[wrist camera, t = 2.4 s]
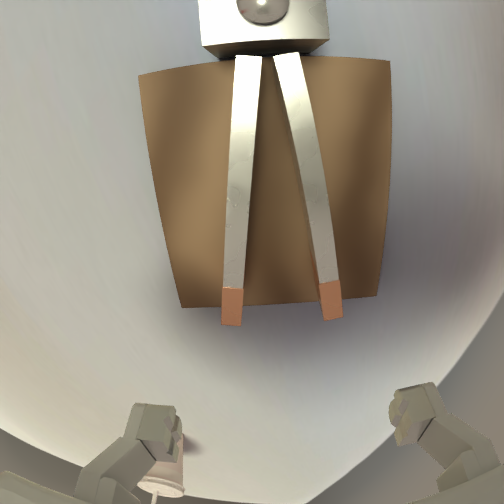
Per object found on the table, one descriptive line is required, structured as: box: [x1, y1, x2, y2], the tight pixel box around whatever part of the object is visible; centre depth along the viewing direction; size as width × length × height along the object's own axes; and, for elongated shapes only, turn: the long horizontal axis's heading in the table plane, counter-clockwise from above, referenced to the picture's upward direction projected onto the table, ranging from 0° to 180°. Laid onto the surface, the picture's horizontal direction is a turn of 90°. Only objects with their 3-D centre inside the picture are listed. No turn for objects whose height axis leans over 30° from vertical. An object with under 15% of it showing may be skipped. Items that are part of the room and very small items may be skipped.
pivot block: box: [198, 0, 330, 58], centre depth 14 cm, size 6×4×7 cm, turn 95°
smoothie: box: [137, 434, 185, 504], centre depth 33 cm, size 6×6×14 cm
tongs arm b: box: [221, 55, 262, 326], centre depth 18 cm, size 16×1×4 cm, turn 176°
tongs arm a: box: [271, 52, 343, 321], centre depth 18 cm, size 16×1×4 cm, turn 14°
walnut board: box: [138, 56, 392, 308], centre depth 21 cm, size 16×18×2 cm
